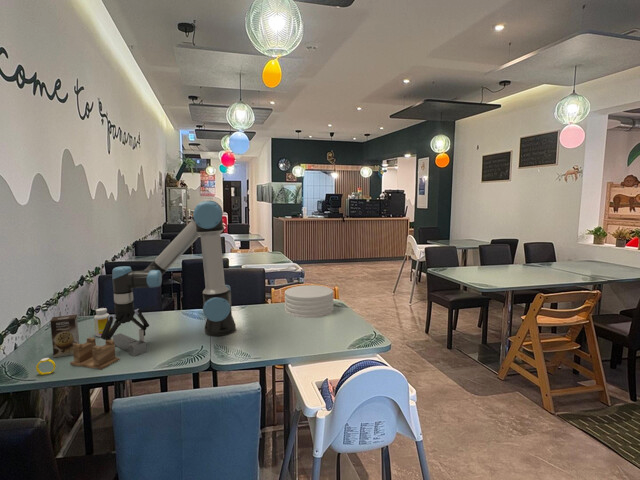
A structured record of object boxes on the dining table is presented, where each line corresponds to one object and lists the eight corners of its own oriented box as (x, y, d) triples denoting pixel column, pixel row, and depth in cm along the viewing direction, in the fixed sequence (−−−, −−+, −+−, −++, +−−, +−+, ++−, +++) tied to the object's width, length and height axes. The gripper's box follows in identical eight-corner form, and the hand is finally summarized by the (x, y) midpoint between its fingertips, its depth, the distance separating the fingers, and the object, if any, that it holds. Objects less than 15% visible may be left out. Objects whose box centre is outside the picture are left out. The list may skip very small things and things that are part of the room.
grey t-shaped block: (146, 352, 169) (145, 342, 168) (133, 356, 164) (133, 346, 164) (123, 342, 181) (122, 332, 180) (111, 345, 177) (110, 336, 176)
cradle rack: (119, 360, 161) (118, 340, 160) (101, 369, 152) (99, 348, 151) (89, 355, 166) (87, 336, 165) (70, 364, 157) (68, 344, 156)
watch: (36, 377, 148) (33, 362, 147) (39, 373, 150) (36, 359, 149) (54, 373, 149) (52, 358, 149) (57, 370, 152) (54, 356, 151)
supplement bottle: (114, 333, 192) (112, 308, 191) (101, 338, 186) (99, 312, 185) (105, 331, 195) (103, 306, 193) (92, 336, 189) (90, 310, 187)
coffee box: (53, 358, 164) (49, 321, 162) (56, 352, 170) (52, 316, 168) (78, 354, 168) (74, 317, 166) (80, 348, 174) (77, 313, 172)
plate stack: (290, 302, 242) (290, 284, 240) (335, 304, 238) (335, 285, 236) (280, 317, 214) (279, 296, 213) (330, 318, 210) (330, 298, 209)
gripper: (146, 294, 183) (149, 337, 185) (89, 307, 163) (93, 355, 165) (155, 296, 178) (158, 341, 181) (97, 310, 158) (101, 359, 161)
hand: (127, 348), depth 173 cm, fingers open, 13 cm apart
